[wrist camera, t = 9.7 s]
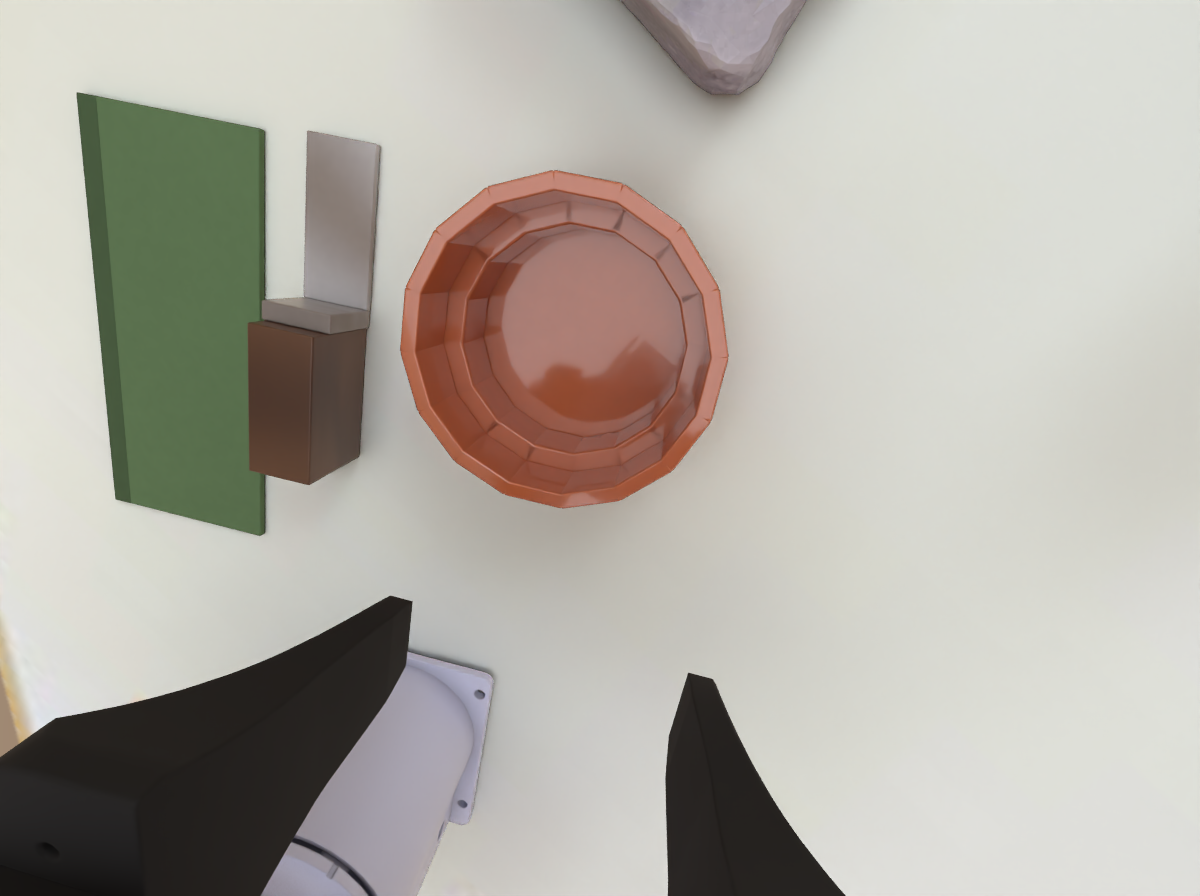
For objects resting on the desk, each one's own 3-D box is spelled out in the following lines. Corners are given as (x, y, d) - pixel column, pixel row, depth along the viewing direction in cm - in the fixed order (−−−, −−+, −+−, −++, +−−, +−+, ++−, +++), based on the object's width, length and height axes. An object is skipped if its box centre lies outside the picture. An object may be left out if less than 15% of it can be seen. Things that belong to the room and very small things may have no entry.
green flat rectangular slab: (265, 533, 25) (259, 536, 25) (121, 496, 26) (115, 499, 26) (264, 130, 20) (258, 128, 20) (84, 94, 21) (75, 91, 20)
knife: (362, 457, 24) (311, 486, 20) (304, 443, 24) (245, 470, 20) (380, 145, 20) (321, 120, 16) (312, 132, 20) (240, 104, 17)
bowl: (680, 483, 22) (680, 538, 17) (448, 429, 23) (390, 467, 18) (747, 226, 19) (768, 212, 14) (477, 172, 20) (415, 142, 15)
